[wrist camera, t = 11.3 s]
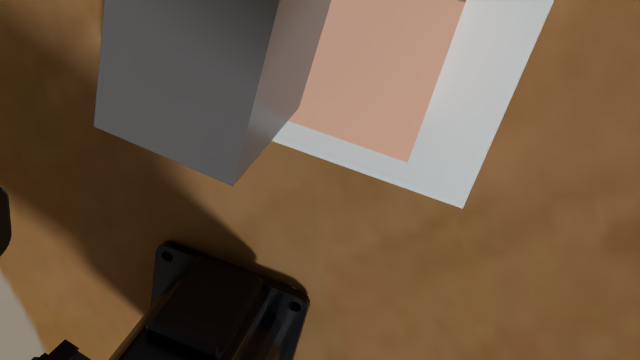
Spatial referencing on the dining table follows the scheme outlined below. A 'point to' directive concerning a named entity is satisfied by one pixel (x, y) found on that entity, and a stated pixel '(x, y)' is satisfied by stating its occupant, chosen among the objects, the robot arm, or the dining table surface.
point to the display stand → (414, 88)
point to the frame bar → (205, 76)
